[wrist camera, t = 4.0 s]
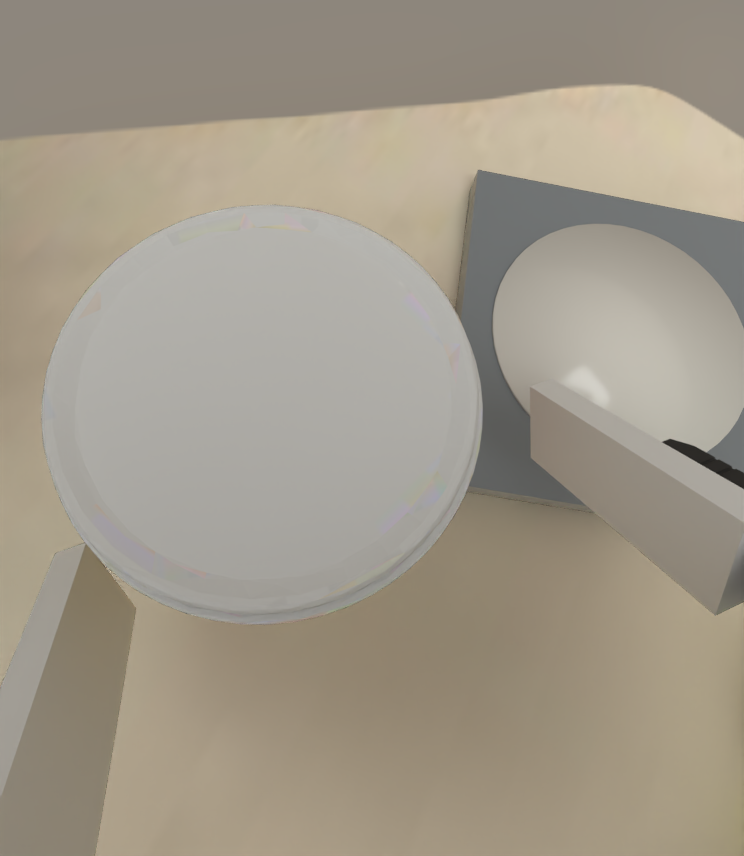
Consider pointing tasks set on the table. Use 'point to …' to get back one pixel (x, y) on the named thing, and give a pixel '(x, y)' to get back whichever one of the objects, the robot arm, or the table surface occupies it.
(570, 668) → the table surface
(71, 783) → the robot arm
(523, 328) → the gray square plate
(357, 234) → the coffee cup
